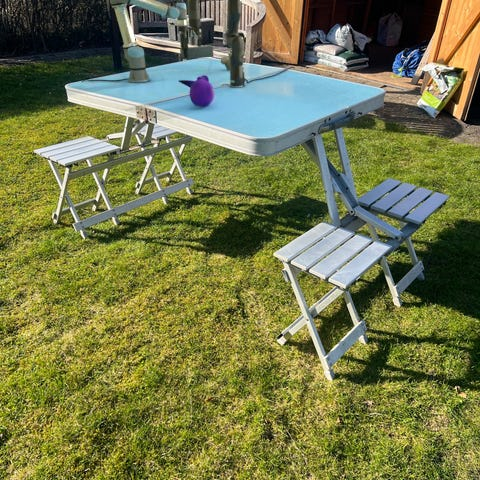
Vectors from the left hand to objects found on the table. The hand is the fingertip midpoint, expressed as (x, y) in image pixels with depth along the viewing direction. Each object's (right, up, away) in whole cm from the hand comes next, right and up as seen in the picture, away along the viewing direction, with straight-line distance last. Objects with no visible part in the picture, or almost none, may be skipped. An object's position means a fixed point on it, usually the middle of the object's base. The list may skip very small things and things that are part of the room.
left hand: (185, 57), depth 357 cm
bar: (+9, +1, +3) cm, 10 cm away
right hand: (+15, -19, -67) cm, 71 cm away
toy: (+19, -63, -84) cm, 107 cm away
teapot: (+37, -3, +17) cm, 41 cm away
